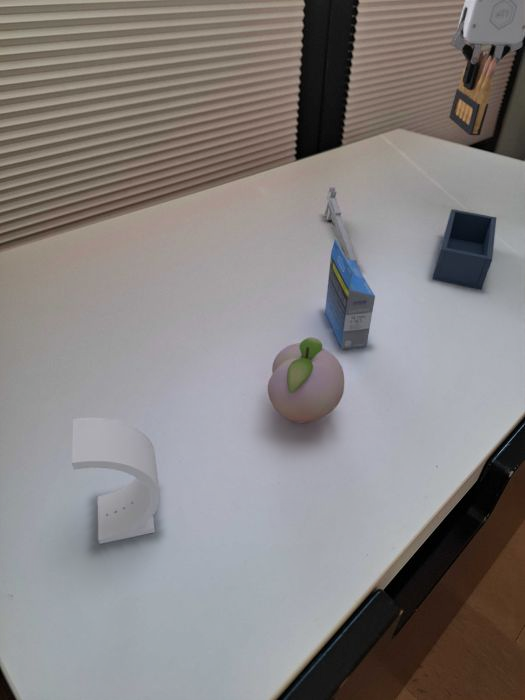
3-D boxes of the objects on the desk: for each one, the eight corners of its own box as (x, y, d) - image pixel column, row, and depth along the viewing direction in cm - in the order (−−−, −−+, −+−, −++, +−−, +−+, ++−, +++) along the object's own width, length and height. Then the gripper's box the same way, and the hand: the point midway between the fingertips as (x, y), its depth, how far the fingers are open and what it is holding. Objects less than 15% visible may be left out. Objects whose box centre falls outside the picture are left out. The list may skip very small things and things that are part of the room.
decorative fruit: (335, 450, 55) (348, 384, 49) (261, 438, 56) (264, 372, 50) (340, 390, 62) (352, 325, 56) (274, 380, 63) (278, 316, 57)
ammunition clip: (480, 135, 90) (502, 59, 82) (469, 135, 90) (491, 58, 82) (458, 117, 98) (477, 46, 90) (448, 117, 98) (467, 45, 90)
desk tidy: (486, 246, 91) (496, 217, 88) (480, 290, 80) (492, 259, 77) (443, 237, 93) (451, 208, 90) (432, 279, 82) (441, 248, 79)
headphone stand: (98, 501, 50) (72, 418, 42) (161, 489, 51) (147, 406, 43) (99, 544, 46) (71, 463, 38) (166, 530, 47) (152, 449, 40)
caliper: (323, 215, 99) (327, 184, 95) (329, 215, 99) (333, 184, 95) (351, 271, 83) (357, 237, 79) (357, 271, 83) (364, 236, 79)
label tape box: (367, 347, 69) (384, 269, 61) (338, 350, 68) (351, 271, 60) (348, 309, 75) (361, 234, 67) (322, 311, 75) (331, 236, 67)
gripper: (470, -44, 74) (438, 93, 86) (572, -41, 75) (526, 94, 87) (452, -47, 80) (424, 82, 92) (547, -44, 81) (507, 83, 93)
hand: (474, 87), depth 89 cm, fingers closed on ammunition clip, 1 cm apart
